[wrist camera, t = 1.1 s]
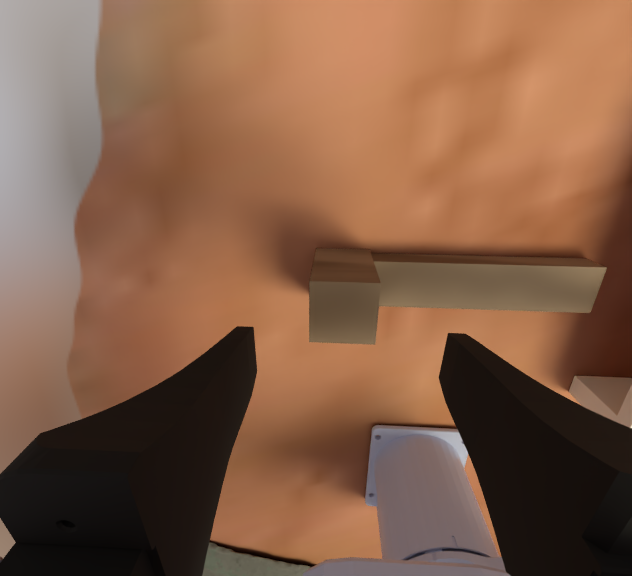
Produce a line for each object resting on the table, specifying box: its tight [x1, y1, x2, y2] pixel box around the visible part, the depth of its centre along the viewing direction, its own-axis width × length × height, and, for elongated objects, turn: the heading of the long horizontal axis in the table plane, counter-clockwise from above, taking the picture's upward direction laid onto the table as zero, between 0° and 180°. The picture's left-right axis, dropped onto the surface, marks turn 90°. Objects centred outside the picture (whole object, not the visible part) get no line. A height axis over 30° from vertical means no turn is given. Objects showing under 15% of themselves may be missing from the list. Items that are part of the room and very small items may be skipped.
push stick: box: [309, 248, 607, 344], centre depth 19 cm, size 4×17×6 cm, turn 90°
